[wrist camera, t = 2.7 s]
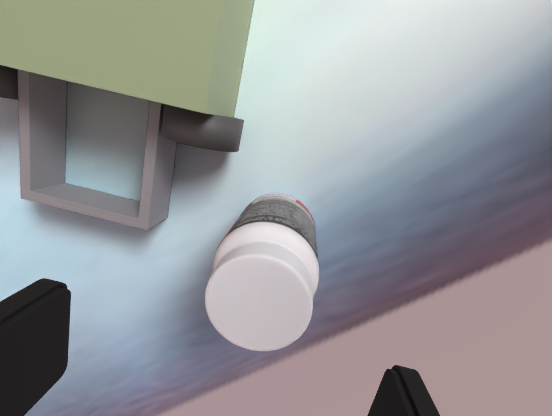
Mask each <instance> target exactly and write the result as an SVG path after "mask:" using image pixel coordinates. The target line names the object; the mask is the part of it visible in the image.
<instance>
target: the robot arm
mask: <svg viewBox="0 0 552 416" xmlns="http://www.w3.org/2000/svg"><path fill="white" fill-rule="evenodd" d="M70 302H71V292H70V290H68V289H67V286H66V284H65V283H62V282H58V281H54V280H50V279H46V278H45V279H40V280H38V281H36V282H34V283H32V284H31V285H29V286H27V287H25V288H24V289H22V290H20V291H18V292H17V293H15V294H13V295H11V296H9V297H8V298H6V299H4V300H2V301H1V302H0V416H24V415H25V414H26V413H27V412H28V411H29V410H30V409H31V408H32V407H33V406H34V405H35V404H36V403H37V402H38V401H39V400H40V399H41V398H42V396H43V395H44V394H45V393H46V392H47V391H48V390H49V389H50V388H51V387H52V386H53V385H54V384H55V383H56V382H57V381H58V380H59V379H60V378H61V377H62V375H63V374H64V372H65V370H66V367H67V363H68V343H69V323H70ZM368 416H440V415H439V413H438V411H437V409H436V407H435V405H434V403H433V401H432V399H431V397H430V395H429V393H428V391H427V389H426V387H425V385H424V383H423V381H422V379H421V377H420V375H419V373H418V372H417V371H416V370H414V369H410V368H406V367H402V366H398V365H394V366H393V367H392V369H387V370H386V372H385V373H384V376H383V378H382V381H381V383H380V386H379V389H378V391H377V394H376V396H375V399H374V401H373V403H372V406H371V408H370V411H369V413H368Z"/></svg>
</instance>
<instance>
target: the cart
mask: <svg viewBox="0 0 552 416" xmlns="http://www.w3.org/2000/svg"><path fill="white" fill-rule="evenodd" d="M253 5H254V0H0V97H4V98H11V99H18V106H19V146H20V186H21V198H22V199H26V200H30V201H34V202H38V203H42V204H45V205H49V206H53V207H57V208H61V209H65V210H69V211H73V212H77V213H81V214H85V215H89V216H93V217H97V218H101V219H105V220H108V221H112V222H116V223H120V224H124V225H128V226H132V227H136V228H140V229H144V230H149V229H151V228H152V227H154V226H155V225H157V224H158V223H160V222H161V221H163V220H164V219H166V218H168V210H169V202H170V194H171V186H172V178H173V170H174V162H175V154H176V146H177V142H178V143H181V144H185V145H190V146H194V147H199V148H204V149H210V150H217V151H225V152H237V151H238V150H239V145H240V139H241V134H242V128H243V123H244V120H241V119H237V118H233V117H234V113H235V107H236V102H237V96H238V90H239V85H240V79H241V73H242V68H243V62H244V56H245V51H246V45H247V39H248V34H249V28H250V22H251V17H252V11H253ZM67 81H70V82H74V83H79V84H83V85H87V86H91V87H95V88H100V89H104V90H108V91H112V92H117V93H121V94H125V95H129V96H133V97H138V98H142V99H146V100H150V103H149V114H148V124H147V135H146V145H145V155H144V166H143V176H142V187H141V197H140V202H139V201H135V200H131V199H127V198H123V197H119V196H115V195H111V194H107V193H103V192H99V191H95V190H91V189H87V188H83V187H79V186H75V185H71V184H67V183H65V153H66V101H67Z"/></svg>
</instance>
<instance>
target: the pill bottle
mask: <svg viewBox="0 0 552 416" xmlns="http://www.w3.org/2000/svg"><path fill="white" fill-rule="evenodd" d="M318 282H319V265H318V255H317V245H316V233H315V223H314V219H313V217H312V215H311V213H310V211H309V210H308V208H307V207H306V206H305V205H304V204H303V203H302V202H301V201H299V200H298V199H296V198H294V197H292V196H289V195H286V194H280V193H271V194H266V195H263V196H261V197H259V198H257V199H255V200H254V201H252V202H251V203H250V204H249V205H248V206H247V207H246V209H245V210H244V212H243V213H242V215H241V216H240V217H239V219H238V220H237V221H236V223H235V224H234V226H233V227H232V228H231V230H230V231H229V232H228V234H227V235H226V236H225V238H224V239H223V240H222V242H221V243H220V245H219V247H218V249H217V252H216V254H215V257H214V262H213V274H212V275H211V277H210V279H209V281H208V284H207V287H206V291H205V307H206V312H207V314H208V317H209V319H210V321H211V323H212V325H213V326H214V327H215V329H216V330H217V331H218V332H219V333H220V334H221V335H222V336H223V337H224V338H225V339H227V340H228V341H230V342H232V343H233V344H235V345H237V346H240V347H242V348H245V349H249V350H255V351H272V350H277V349H280V348H283V347H286V346H288V345H290V344H291V343H293V342H294V341H296V340H297V339H298V338H299V337H300V336H301V335H302V334H303V333H304V331H305V330H306V328H307V326H308V325H309V323H310V320H311V316H312V310H313V297H314V295H315V292H316V290H317V286H318Z"/></svg>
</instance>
